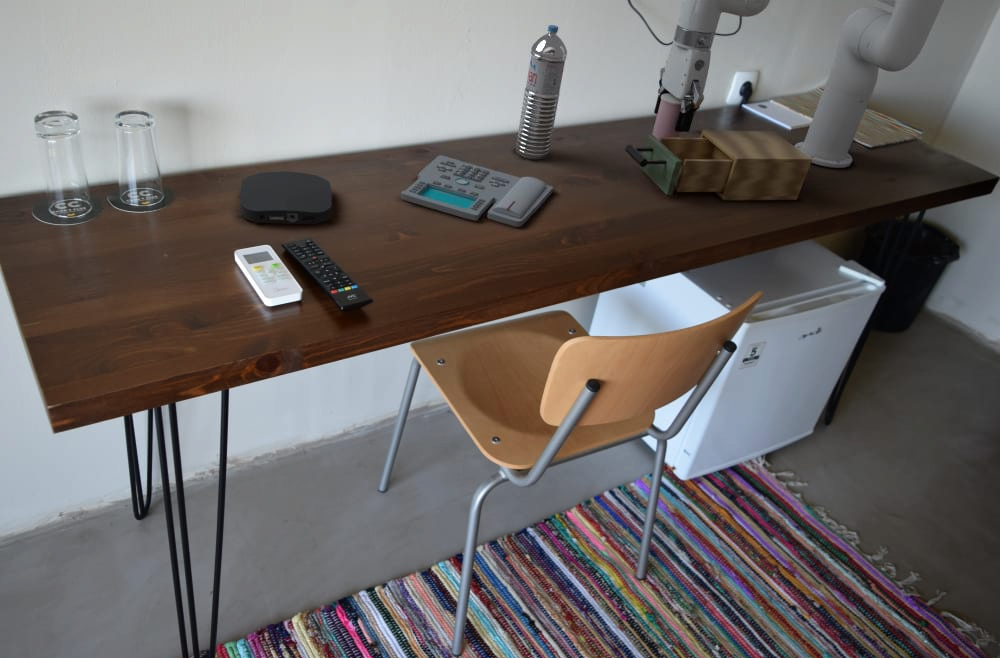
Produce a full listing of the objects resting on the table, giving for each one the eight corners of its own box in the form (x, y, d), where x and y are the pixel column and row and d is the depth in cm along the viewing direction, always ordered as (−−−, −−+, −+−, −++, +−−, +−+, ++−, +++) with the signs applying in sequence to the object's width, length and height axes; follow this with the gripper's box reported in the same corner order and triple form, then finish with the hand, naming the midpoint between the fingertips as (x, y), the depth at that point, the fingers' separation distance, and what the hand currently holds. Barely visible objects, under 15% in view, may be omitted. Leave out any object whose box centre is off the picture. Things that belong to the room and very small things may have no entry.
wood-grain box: (723, 200, 156) (737, 158, 151) (690, 170, 167) (702, 129, 162) (796, 199, 160) (812, 159, 155) (759, 170, 171) (773, 131, 166)
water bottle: (546, 163, 161) (569, 33, 147) (512, 157, 162) (533, 27, 147) (550, 151, 167) (573, 25, 152) (517, 145, 168) (537, 19, 153)
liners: (657, 147, 176) (671, 91, 169) (680, 156, 173) (696, 100, 165) (641, 152, 172) (655, 96, 165) (664, 162, 169) (679, 105, 162)
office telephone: (555, 179, 149) (521, 221, 134) (552, 192, 151) (519, 235, 135) (440, 148, 155) (395, 184, 139) (439, 160, 156) (394, 198, 141)
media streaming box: (329, 187, 142) (329, 171, 140) (332, 226, 130) (333, 209, 128) (243, 184, 139) (242, 168, 137) (239, 224, 127) (238, 207, 125)
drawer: (639, 195, 152) (648, 161, 148) (613, 166, 161) (621, 134, 157) (738, 194, 157) (749, 161, 153) (706, 167, 167) (716, 135, 163)
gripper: (732, 51, 152) (706, 138, 163) (690, 26, 166) (669, 108, 176) (697, 50, 151) (673, 138, 161) (657, 24, 164) (637, 107, 174)
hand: (671, 122), depth 168 cm, fingers open, 9 cm apart
